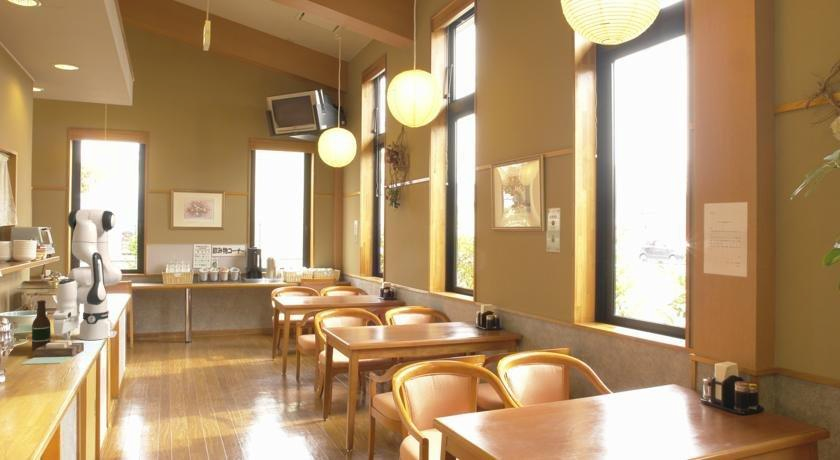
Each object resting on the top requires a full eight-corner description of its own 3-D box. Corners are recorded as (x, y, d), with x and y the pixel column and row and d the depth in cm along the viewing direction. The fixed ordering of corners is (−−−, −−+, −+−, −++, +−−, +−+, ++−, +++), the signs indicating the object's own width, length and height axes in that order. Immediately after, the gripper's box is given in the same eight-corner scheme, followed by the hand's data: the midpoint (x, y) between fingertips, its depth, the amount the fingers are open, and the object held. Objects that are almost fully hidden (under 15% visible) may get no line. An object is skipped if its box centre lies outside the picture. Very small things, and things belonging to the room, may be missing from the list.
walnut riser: (48, 351, 287) (48, 343, 287) (83, 350, 290) (83, 342, 290) (34, 358, 274) (34, 349, 274) (72, 357, 276) (72, 348, 276)
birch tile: (53, 344, 284) (53, 340, 284) (71, 344, 286) (71, 340, 286) (45, 348, 276) (45, 344, 276) (64, 347, 278) (64, 343, 278)
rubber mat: (34, 358, 273) (34, 357, 273) (71, 357, 276) (71, 356, 276) (21, 364, 261) (21, 363, 261) (60, 363, 264) (60, 362, 264)
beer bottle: (54, 347, 297) (54, 299, 297) (42, 350, 289) (42, 301, 289) (39, 347, 298) (39, 299, 297) (28, 350, 290) (28, 301, 290)
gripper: (68, 309, 299) (68, 336, 299) (50, 315, 279) (50, 345, 279) (82, 309, 300) (82, 336, 300) (65, 315, 280) (65, 344, 280)
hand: (66, 340), depth 290 cm, fingers closed
